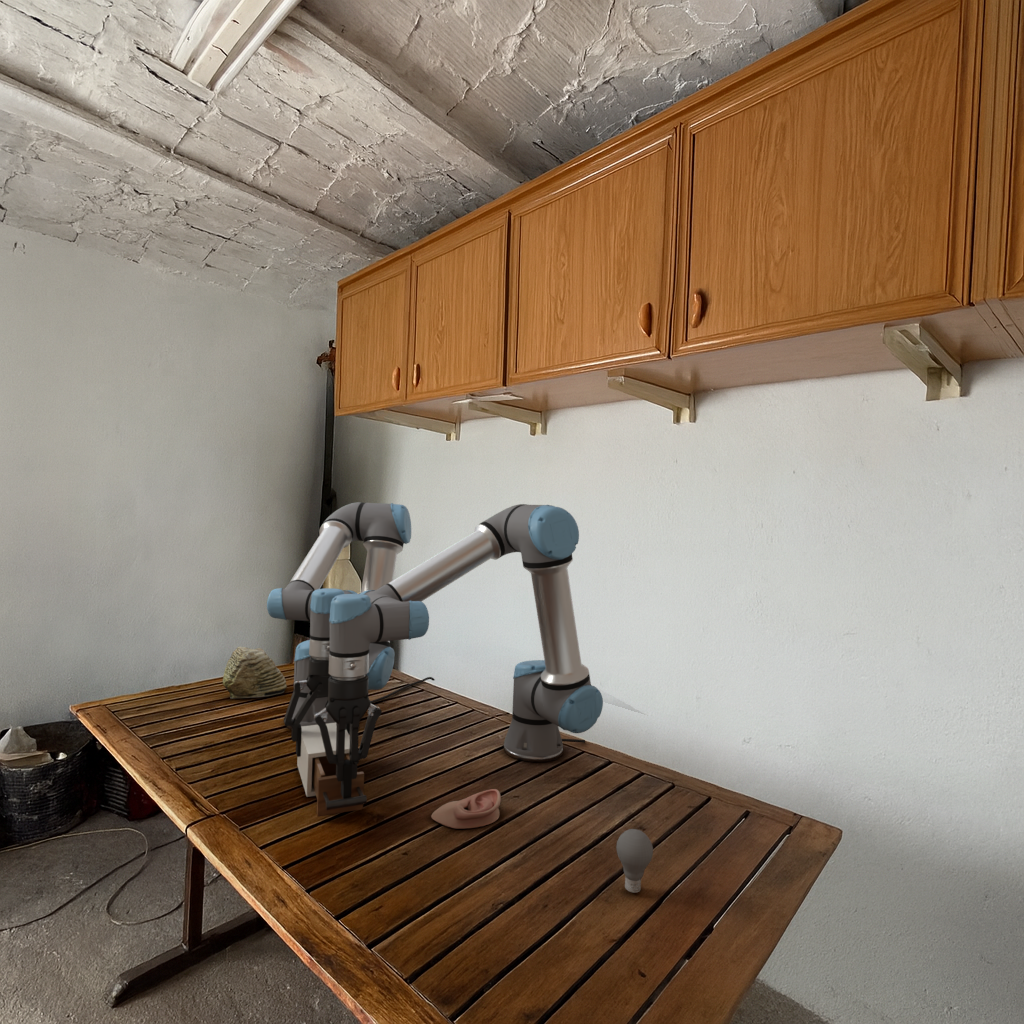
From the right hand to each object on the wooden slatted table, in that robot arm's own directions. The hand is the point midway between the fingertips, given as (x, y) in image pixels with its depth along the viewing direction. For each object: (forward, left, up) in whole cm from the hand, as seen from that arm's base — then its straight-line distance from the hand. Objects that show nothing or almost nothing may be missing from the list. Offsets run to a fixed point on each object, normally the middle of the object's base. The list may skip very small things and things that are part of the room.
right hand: (346, 795), depth 123 cm
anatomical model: (-23, +4, -6) cm, 25 cm away
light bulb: (-42, +37, -6) cm, 56 cm away
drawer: (+1, -8, -5) cm, 9 cm away
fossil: (+15, -88, -6) cm, 89 cm away
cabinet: (+1, -22, -6) cm, 23 cm away
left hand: (+1, -27, -2) cm, 27 cm away
